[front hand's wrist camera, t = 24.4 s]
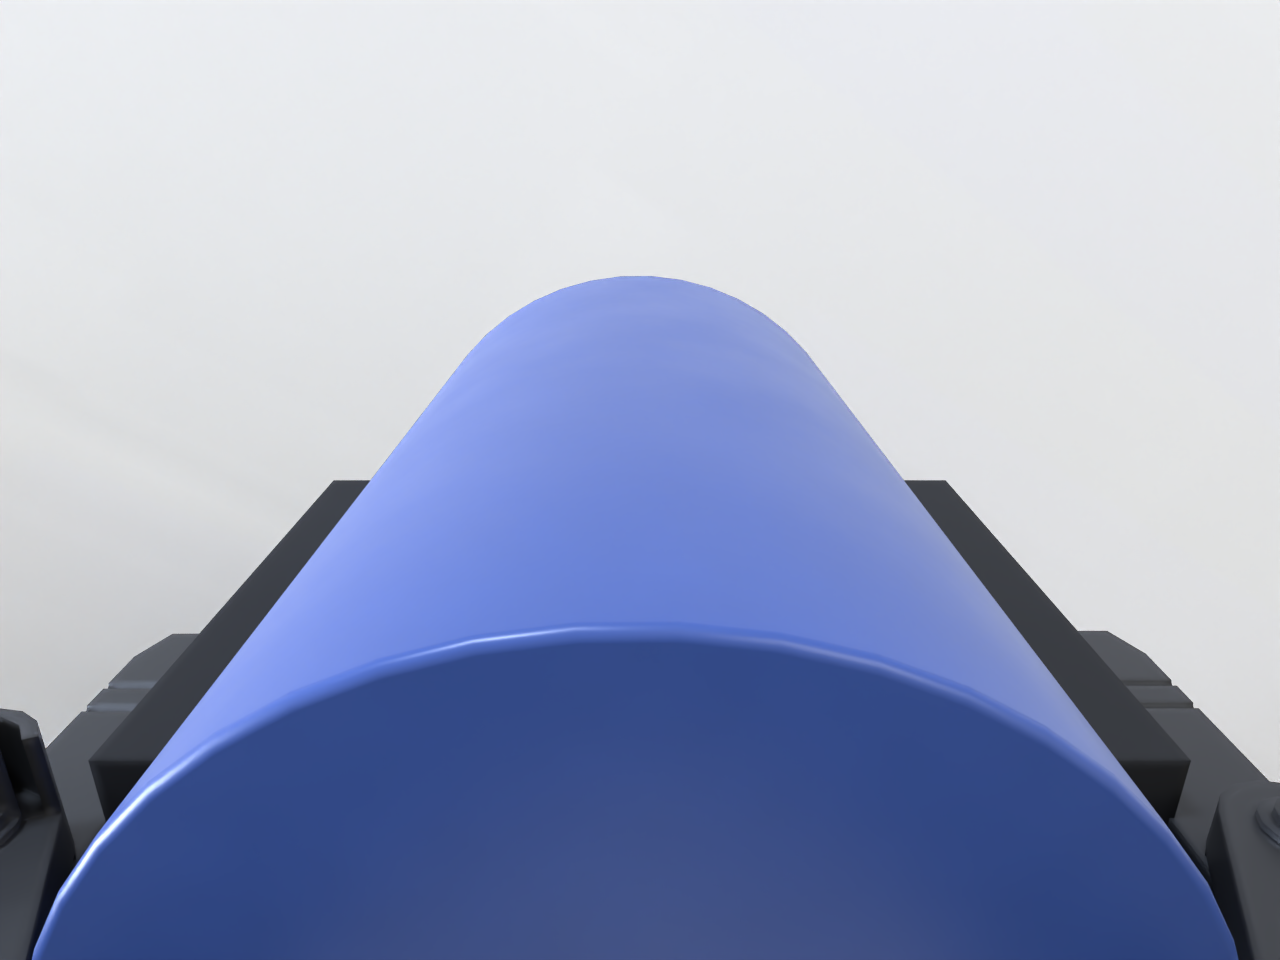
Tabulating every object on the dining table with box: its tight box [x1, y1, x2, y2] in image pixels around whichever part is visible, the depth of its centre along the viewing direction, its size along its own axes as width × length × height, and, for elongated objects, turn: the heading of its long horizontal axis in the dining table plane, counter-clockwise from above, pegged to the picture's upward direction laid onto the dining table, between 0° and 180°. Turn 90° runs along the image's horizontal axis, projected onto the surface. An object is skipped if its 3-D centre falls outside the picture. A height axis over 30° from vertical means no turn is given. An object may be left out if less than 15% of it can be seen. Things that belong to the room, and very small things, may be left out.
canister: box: [32, 276, 1238, 960], centre depth 11 cm, size 8×8×12 cm
